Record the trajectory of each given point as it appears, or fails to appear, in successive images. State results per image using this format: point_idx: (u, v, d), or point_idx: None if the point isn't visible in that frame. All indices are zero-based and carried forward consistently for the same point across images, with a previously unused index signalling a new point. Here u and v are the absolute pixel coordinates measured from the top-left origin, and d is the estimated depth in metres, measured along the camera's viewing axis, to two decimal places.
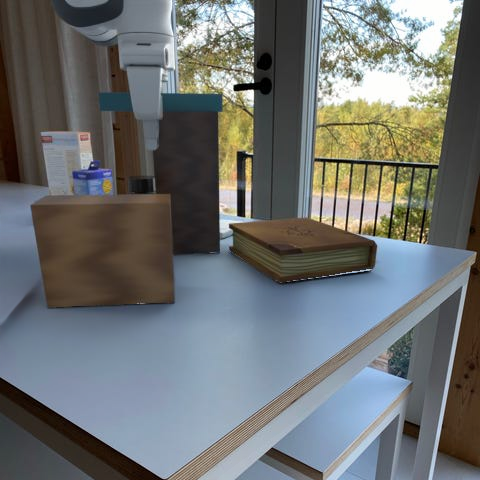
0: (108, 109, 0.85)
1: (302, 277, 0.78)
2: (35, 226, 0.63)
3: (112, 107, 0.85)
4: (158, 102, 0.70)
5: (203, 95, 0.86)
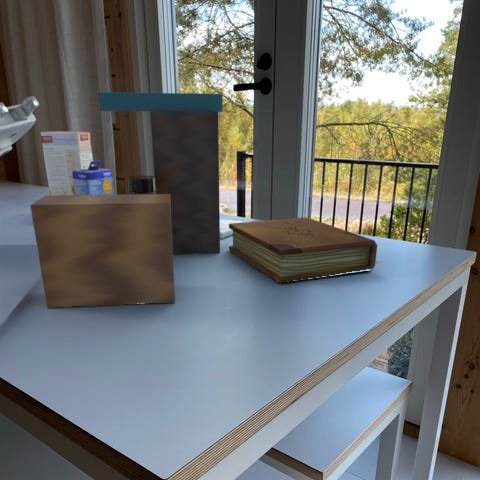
0: (108, 109, 0.85)
1: (302, 277, 0.78)
2: (35, 226, 0.63)
3: (112, 107, 0.85)
4: (30, 126, 0.91)
5: (203, 95, 0.86)
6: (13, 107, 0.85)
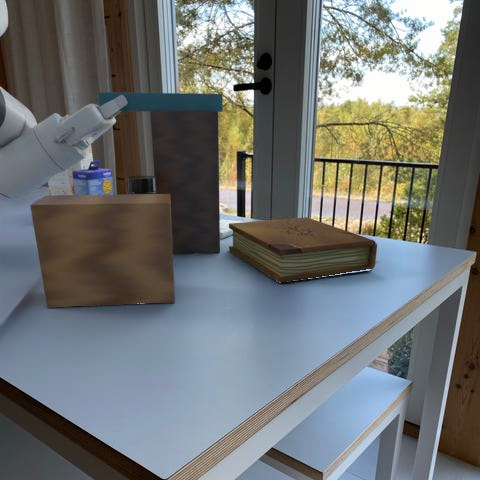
0: None
1: (302, 277, 0.78)
2: (35, 226, 0.63)
3: None
4: (107, 128, 0.96)
5: (203, 95, 0.86)
6: None
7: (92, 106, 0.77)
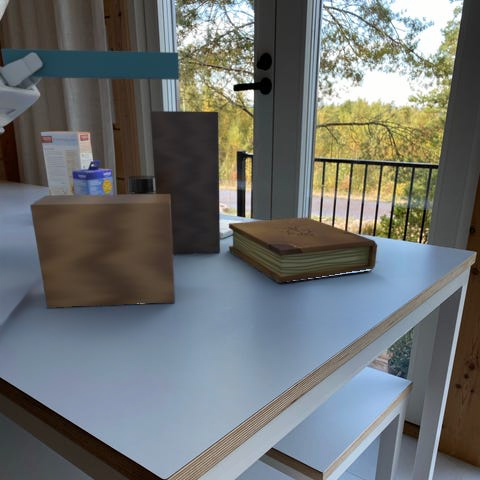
0: None
1: (302, 277, 0.78)
2: (35, 226, 0.63)
3: None
4: (30, 104, 0.72)
5: (151, 54, 0.62)
6: None
7: None
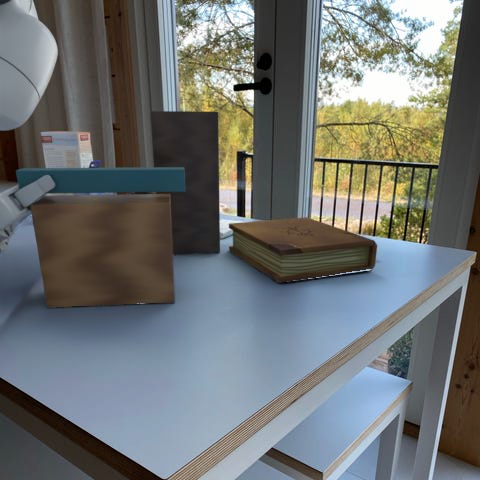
0: None
1: (302, 277, 0.78)
2: (35, 226, 0.63)
3: None
4: None
5: (158, 171, 0.64)
6: None
7: None
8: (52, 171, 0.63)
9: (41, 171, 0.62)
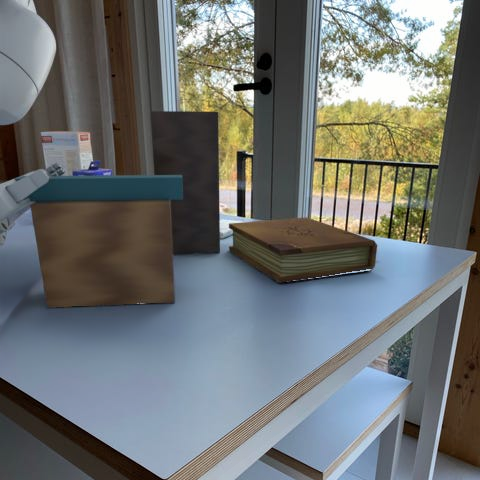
0: None
1: (302, 277, 0.78)
2: (35, 226, 0.63)
3: (34, 197, 0.63)
4: None
5: (156, 179, 0.65)
6: (30, 175, 0.69)
7: None
8: (50, 179, 0.63)
9: None
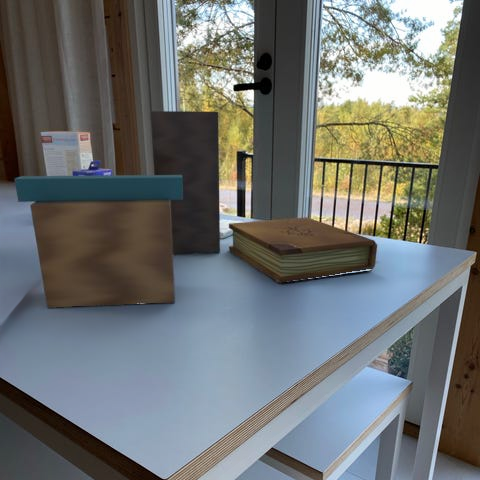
0: (29, 200, 0.64)
1: (302, 277, 0.78)
2: (35, 226, 0.63)
3: (34, 197, 0.63)
4: None
5: (156, 179, 0.65)
6: None
7: None
8: (50, 179, 0.63)
9: (39, 179, 0.63)
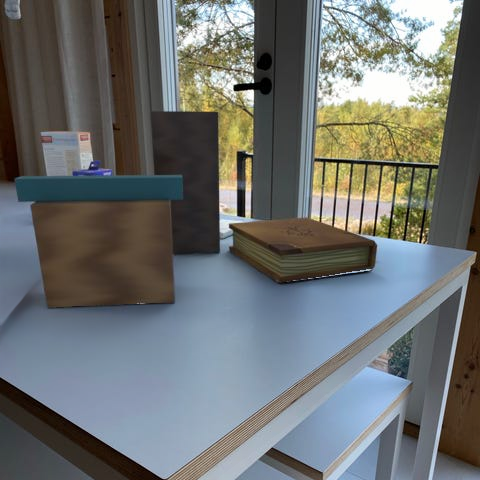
0: (29, 200, 0.64)
1: (302, 277, 0.78)
2: (35, 226, 0.63)
3: (34, 197, 0.63)
4: None
5: (156, 179, 0.65)
6: None
7: None
8: (50, 179, 0.63)
9: (39, 179, 0.63)
